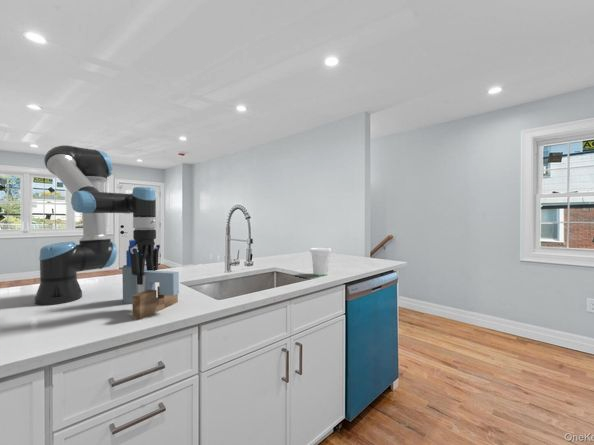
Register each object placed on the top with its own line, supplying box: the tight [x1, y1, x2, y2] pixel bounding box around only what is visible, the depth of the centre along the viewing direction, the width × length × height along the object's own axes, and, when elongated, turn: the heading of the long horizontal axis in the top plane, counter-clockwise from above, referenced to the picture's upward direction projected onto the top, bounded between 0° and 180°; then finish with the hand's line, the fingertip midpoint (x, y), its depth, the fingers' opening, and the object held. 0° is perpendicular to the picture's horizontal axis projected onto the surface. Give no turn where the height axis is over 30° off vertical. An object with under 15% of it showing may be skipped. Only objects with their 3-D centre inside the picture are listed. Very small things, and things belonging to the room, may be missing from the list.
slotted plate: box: [136, 270, 180, 296], centre depth 108 cm, size 16×3×8 cm, turn 76°
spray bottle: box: [121, 239, 147, 305], centre depth 120 cm, size 9×9×25 cm
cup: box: [309, 247, 332, 277], centre depth 172 cm, size 12×12×15 cm
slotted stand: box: [131, 286, 179, 320], centre depth 108 cm, size 3×20×8 cm, turn 166°
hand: (145, 291), depth 109 cm, fingers closed on slotted plate, 3 cm apart
